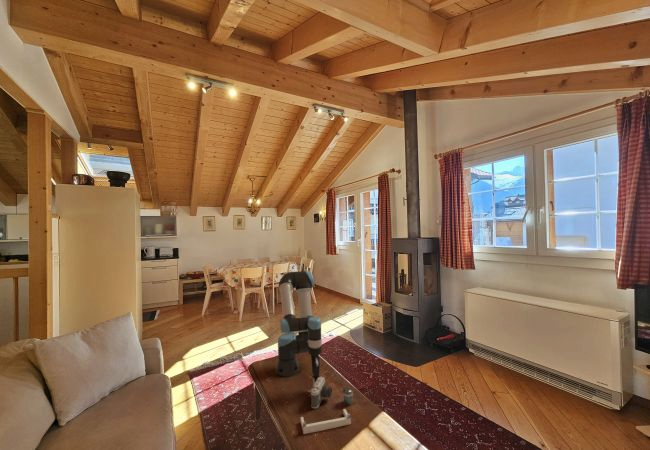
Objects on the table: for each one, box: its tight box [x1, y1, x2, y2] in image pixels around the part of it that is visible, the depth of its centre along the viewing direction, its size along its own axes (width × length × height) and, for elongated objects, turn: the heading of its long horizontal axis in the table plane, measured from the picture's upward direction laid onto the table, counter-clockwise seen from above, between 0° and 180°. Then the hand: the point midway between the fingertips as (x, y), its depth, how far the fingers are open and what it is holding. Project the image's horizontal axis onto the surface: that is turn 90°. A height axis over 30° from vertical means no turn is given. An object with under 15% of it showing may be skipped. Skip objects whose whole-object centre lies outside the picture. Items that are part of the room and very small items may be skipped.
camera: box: [310, 376, 333, 409], centre depth 150 cm, size 9×16×10 cm, turn 163°
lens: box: [342, 387, 354, 407], centre depth 147 cm, size 5×5×7 cm
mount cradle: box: [300, 408, 352, 435], centre depth 132 cm, size 8×22×4 cm, turn 104°
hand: (315, 387), depth 159 cm, fingers closed
